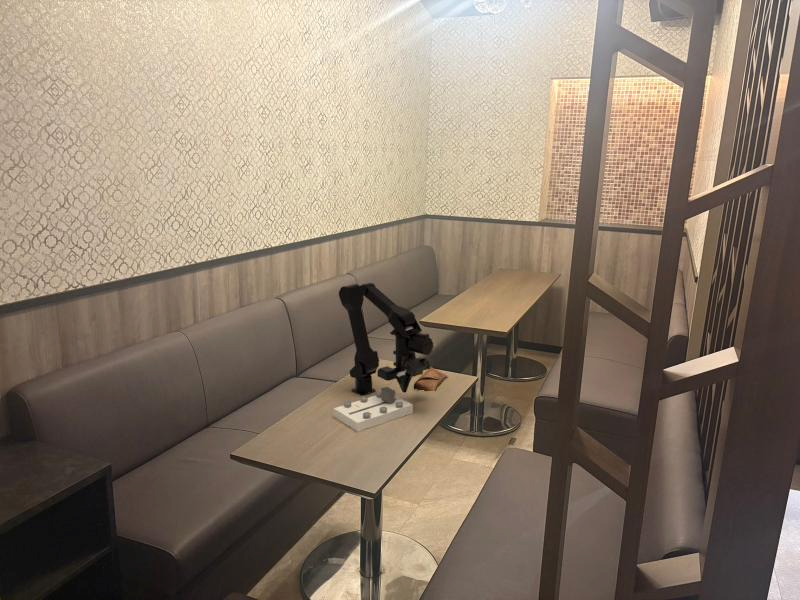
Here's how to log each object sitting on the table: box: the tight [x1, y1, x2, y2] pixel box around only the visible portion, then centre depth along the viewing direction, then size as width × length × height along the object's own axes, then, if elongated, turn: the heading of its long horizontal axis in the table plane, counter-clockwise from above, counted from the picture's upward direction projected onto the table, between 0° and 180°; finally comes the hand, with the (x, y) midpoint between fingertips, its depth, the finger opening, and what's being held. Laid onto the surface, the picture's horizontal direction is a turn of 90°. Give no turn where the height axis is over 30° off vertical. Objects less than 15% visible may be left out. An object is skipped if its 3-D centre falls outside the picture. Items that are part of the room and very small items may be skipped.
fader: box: [380, 386, 396, 404], centre depth 196 cm, size 4×2×4 cm, turn 38°
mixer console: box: [333, 391, 414, 433], centre depth 193 cm, size 14×22×4 cm, turn 128°
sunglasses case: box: [413, 366, 448, 392], centre depth 221 cm, size 18×7×7 cm
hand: (404, 392), depth 201 cm, fingers closed
